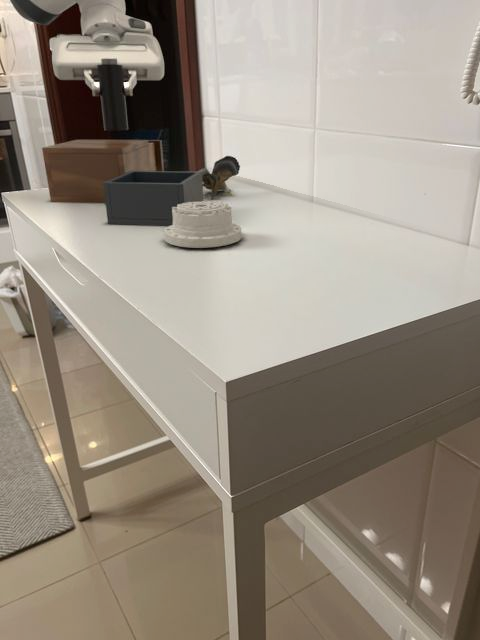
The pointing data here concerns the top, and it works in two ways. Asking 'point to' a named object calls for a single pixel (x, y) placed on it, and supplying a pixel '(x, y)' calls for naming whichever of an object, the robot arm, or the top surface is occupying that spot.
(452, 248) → the top surface
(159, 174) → the bin
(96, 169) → the cabinet
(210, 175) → the toy chipmunk
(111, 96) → the spray can
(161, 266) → the top surface
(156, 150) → the drawer
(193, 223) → the mechanical component
